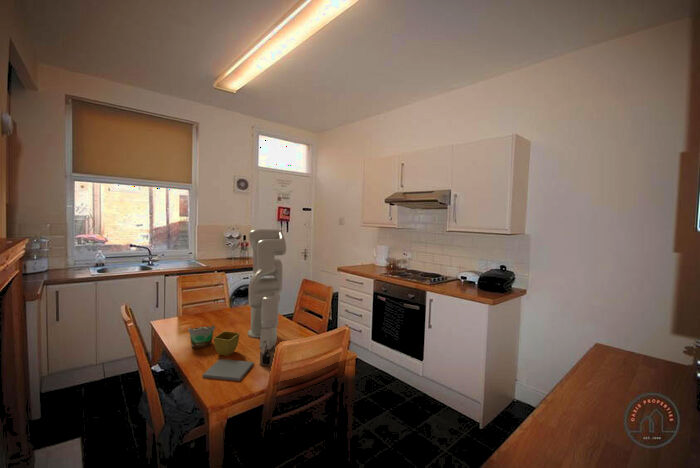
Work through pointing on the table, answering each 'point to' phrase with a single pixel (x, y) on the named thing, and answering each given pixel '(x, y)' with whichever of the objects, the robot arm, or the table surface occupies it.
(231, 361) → the slate board
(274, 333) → the robot arm
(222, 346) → the flower pot
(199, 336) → the food container
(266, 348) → the walnut cube
